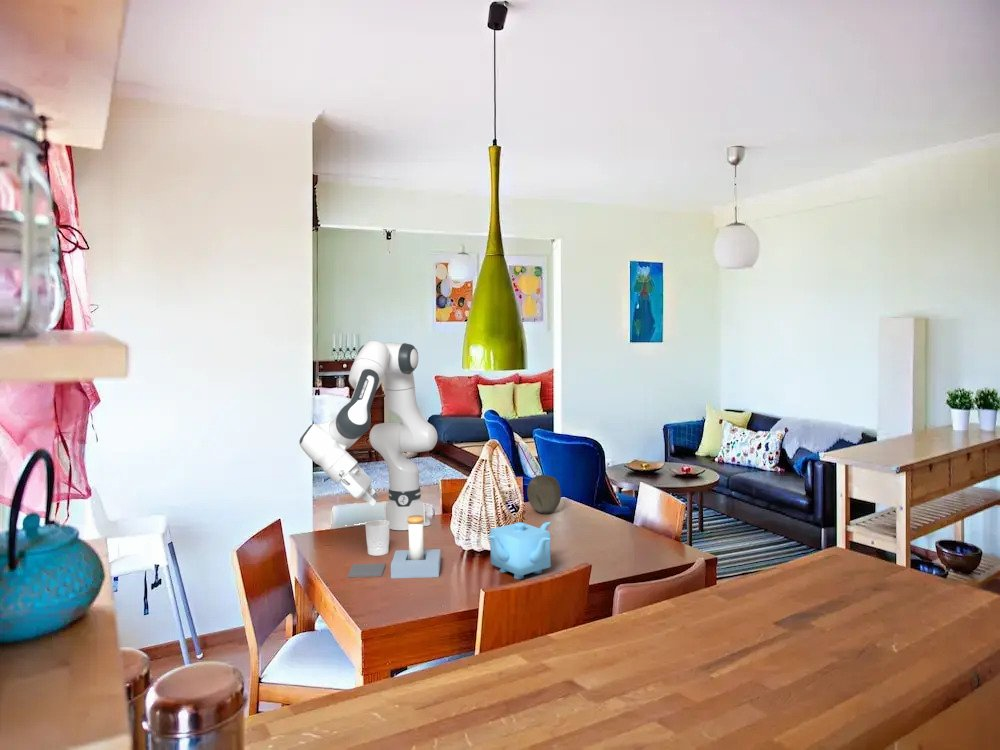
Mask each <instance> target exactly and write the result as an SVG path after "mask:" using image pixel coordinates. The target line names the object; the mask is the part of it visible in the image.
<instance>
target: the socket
mask: <svg viewBox="0 0 1000 750" xmlns="http://www.w3.org/2000/svg"><path fill="white" fill-rule="evenodd" d="M441 554H442V553H441V549H439V548H437V549H436V548H433V549H424V560H409V549H405V550H404V549H401V550H400V549H399V550H398V549H396V550H395V552H394V555H393V558H392V560H391V563H390V579H411V578H412V579H414V578H417V579H418V578H420V579H422V578H439V577H440V571H441V562H442V561H441V556H442V555H441Z"/></svg>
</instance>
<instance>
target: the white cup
mask: <svg viewBox="0 0 1000 750" xmlns="http://www.w3.org/2000/svg"><path fill="white" fill-rule="evenodd" d="M364 525H365V538H366V546H367V554H368V555H370V556H373V557H374V556H375V557H377V556H378V557H379V556H384V555H387V554H388V553H389V548H390V547H389V545H390V529H389V528H390V522H389V521H387V520H385V519H374V520H373V519H372V520H369V521H367V522H365V524H364Z"/></svg>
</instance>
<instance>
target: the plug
mask: <svg viewBox="0 0 1000 750" xmlns="http://www.w3.org/2000/svg"><path fill="white" fill-rule="evenodd" d="M407 522H408V528H409V530H408V550H409V560H424V550H425V549H424V526H423V522H424V516H421V515H413V516H409V517H407Z"/></svg>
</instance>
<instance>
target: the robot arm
mask: <svg viewBox="0 0 1000 750" xmlns="http://www.w3.org/2000/svg"><path fill="white" fill-rule="evenodd" d="M418 364H419V352H418V349H417V348H416V347H415V346H414V345H413V344H410V343H406V342H404V343H399V342H381V341H379V340H369V341H367V342H365V344H363V345H362V346H360V348H359V349H358V350H357V354H356V357H355V359H354V361H353V363H352V365H351V367H350V370H349V375H348V383H349V385H350V386H351V388H352V389H354V391H353V393H352V396H351V399H350V401H349V402H348V403H346V404H345V405H344V406H343V407H342V408H341V409H340V411H338V413H337V414H336V416H335V417H334V418H333V419H332V420H329V421H327V422H323V423H317V424H316V423H312V424H310V425H309V426H308V427H307V429H306V431H305V432H304V433H303V434H302V436H301V437H300V439H299V446H300V448H301V449H302V450H303V452H304V453H305V454H306V455H307V457H308V458H309V459H310V460H312V462H314V463H315V464H316V465H318V466H319V467H321V469H322V470H323V473H325V474H326V475H327V476H328V477H329V478H330V479H331V480H332V481H333V482H334V483H335V484H338V483H339V482H340V484H341V485H342V487H344V489H345V490H346V491H347V492H348V493H349V494H350V495H351V496H352V497H353V498H354V499H356V500H359V499H360V498H361V499H362V500H363V501H365V502H367V503H368V504H369V505H370V506H371V507H373V506H375V505H376V504H377V500H378V499H379V497H380V494H379V493H378V492H377V491H376V489H374V487H373V486H372V485H371V484H372V479H371V478H370V476H369V475H368V474H367V473H366V472H365V471H364V470H363V468H362V467H361V466H360V465H359V464H358V463H359V462H358V460H357V459H356V458H354V457H353V456H352V455H351V454H350V453H349V452H348V451H347V449H348V450H349V448H351V447H352V446H353V445H354V444H355V443H356V442H357V441H358V440H359V439H360V438H361V437H362V436H364V435H365V434H366V433H367V432H368V431H369V429H370V428H371V423H372V417H371V416H372V415H371V408H372V404H373V402H374V398H375V396H376V392H377V390H378V389H379V387H380V386H381V384H382V382H384V383H383V386H384V397H385V398H384V399H385V407H386V409H387V411H388V412H389V413H390V414H392V415H393V416H394V415H395V416H396V417H398V419H399V420H400V421H401V422H394V421H393V422H383V423H382V422H381V423H378V424H377V423H376V424H374V425H373V426H372V428H371V429H370V431H369V442H370V445H371V446H372V448H373V449H374V450H375V451H376V452H377V453H379V454H380V456H381V457H382V458H383V459H384V461H385V464H386V466H387V470H388V481H389V488H388V491H387V492H388V493H387V494H388V499H389V500H388V501H387V502H386V503H384V520H387V521H389V522H390V528H389V530H393V531H394V530H395V531H409V528H408V522H407V517H409V516H413V515H421V516H424V522H423V527H428V526H430V525H432V523H431V520H430V519H429V517H428V515H427V512H426V511H425V507H426V506H425V502H424V501H423V500H422V499H421V495H422V491H421V487H420V470H419V469H420V468H419V467H418V465H417V464H416V463H415V462H413V461H411V460H409V459H408V458H407V456H405V453H421V452H422V453H423V452H428V451H432V450H433V449H434V448H435V447H436V444H437V442H438V439H439V438H438V437H439V436H438V432H437V429H436V428H435V426H434V425H433V424H431V423H429V422H428V421H427V419H426V418H425V417H424V416H423V415H422V413H421V412H420V410H419V407H418V404H417V403H418V402H417V396H416V387H415V385H416V384H415V377H414V371H415V370H416V368H417V367H418ZM383 380H384V381H383Z"/></svg>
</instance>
